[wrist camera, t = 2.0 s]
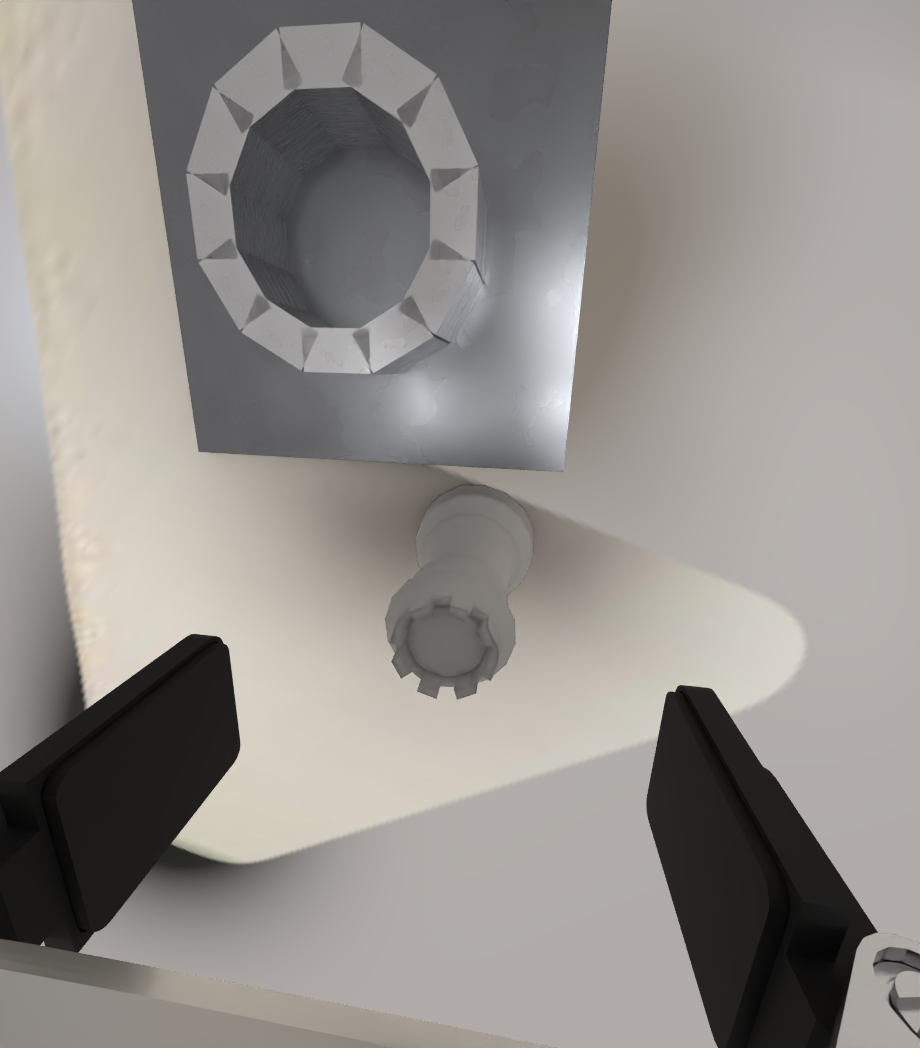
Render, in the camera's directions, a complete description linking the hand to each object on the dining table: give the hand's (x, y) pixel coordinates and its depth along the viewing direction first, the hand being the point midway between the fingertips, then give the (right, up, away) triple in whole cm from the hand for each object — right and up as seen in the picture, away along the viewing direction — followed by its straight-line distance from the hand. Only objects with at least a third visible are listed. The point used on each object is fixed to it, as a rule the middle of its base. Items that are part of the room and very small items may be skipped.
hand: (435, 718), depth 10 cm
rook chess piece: (+1, +4, +8) cm, 9 cm away
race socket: (-2, +13, +6) cm, 15 cm away
